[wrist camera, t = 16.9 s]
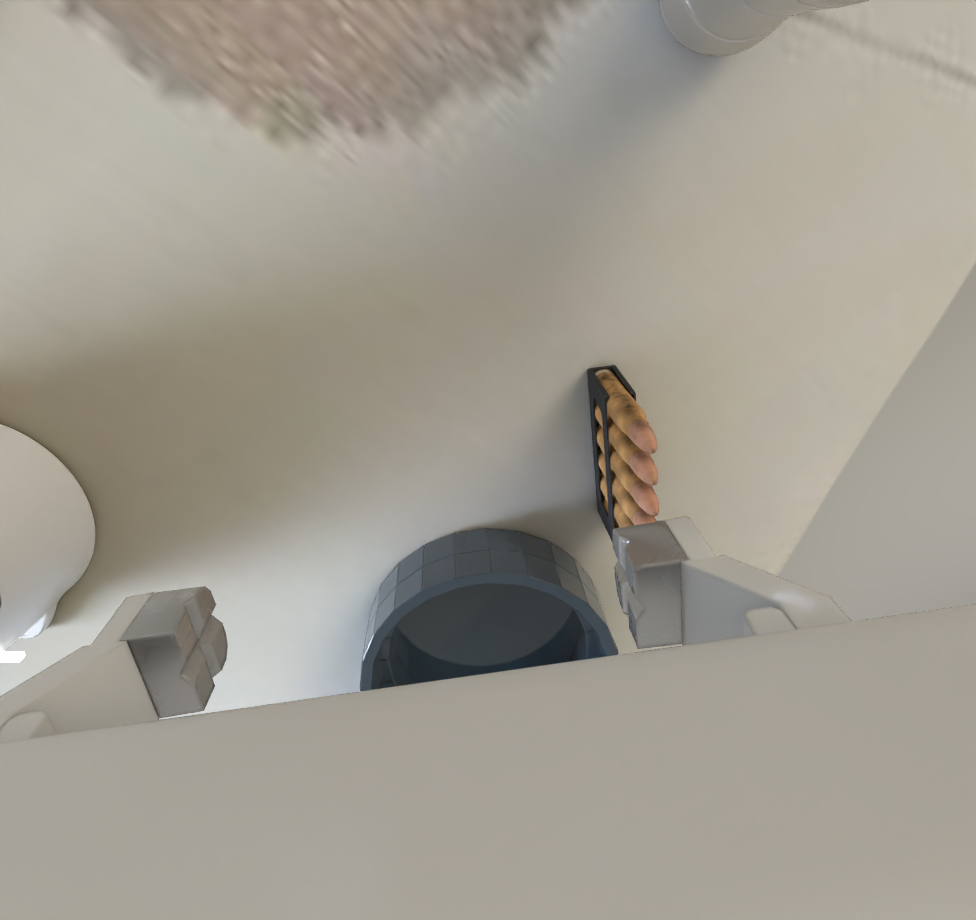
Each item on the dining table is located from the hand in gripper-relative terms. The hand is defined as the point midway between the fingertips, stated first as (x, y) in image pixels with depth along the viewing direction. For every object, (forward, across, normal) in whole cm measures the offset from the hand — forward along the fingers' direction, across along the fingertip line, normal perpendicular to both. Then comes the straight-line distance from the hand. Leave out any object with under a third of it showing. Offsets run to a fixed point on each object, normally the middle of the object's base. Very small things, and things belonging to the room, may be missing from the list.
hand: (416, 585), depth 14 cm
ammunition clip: (+31, -10, +11) cm, 35 cm away
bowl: (+31, 0, +25) cm, 40 cm away
